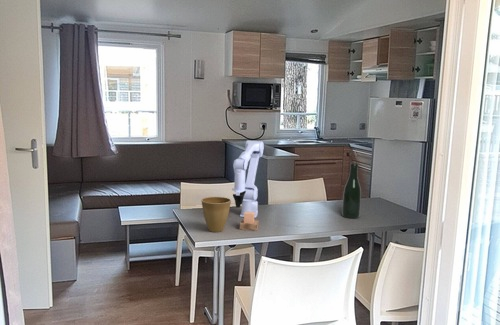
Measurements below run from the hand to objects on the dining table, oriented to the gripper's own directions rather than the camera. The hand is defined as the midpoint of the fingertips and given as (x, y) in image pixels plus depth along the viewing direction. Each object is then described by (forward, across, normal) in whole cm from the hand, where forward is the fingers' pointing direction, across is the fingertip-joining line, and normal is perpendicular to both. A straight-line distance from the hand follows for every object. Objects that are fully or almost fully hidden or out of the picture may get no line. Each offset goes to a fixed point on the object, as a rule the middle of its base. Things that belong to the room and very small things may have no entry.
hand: (239, 205), depth 249 cm
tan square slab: (+9, +8, +7) cm, 14 cm away
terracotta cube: (+6, +8, +7) cm, 13 cm away
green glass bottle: (+10, -28, +63) cm, 70 cm away
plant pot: (+10, +17, -10) cm, 22 cm away
